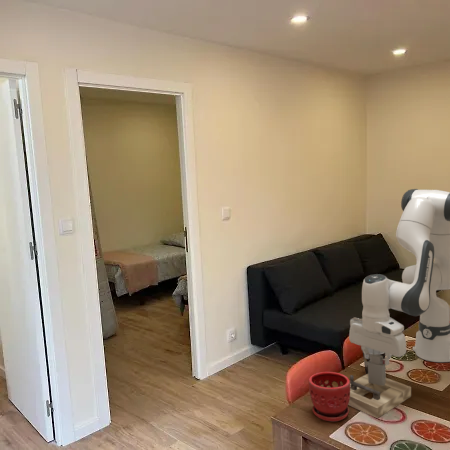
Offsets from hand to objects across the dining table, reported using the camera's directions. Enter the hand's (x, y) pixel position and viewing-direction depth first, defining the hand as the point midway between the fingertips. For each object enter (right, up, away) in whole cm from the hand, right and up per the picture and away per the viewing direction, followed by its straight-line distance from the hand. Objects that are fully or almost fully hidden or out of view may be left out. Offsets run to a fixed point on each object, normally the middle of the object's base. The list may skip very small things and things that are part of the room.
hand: (376, 361), depth 155 cm
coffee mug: (+6, -11, +20) cm, 23 cm away
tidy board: (-1, -13, +1) cm, 13 cm away
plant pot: (-18, -15, -7) cm, 24 cm away
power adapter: (0, -8, +1) cm, 8 cm away
